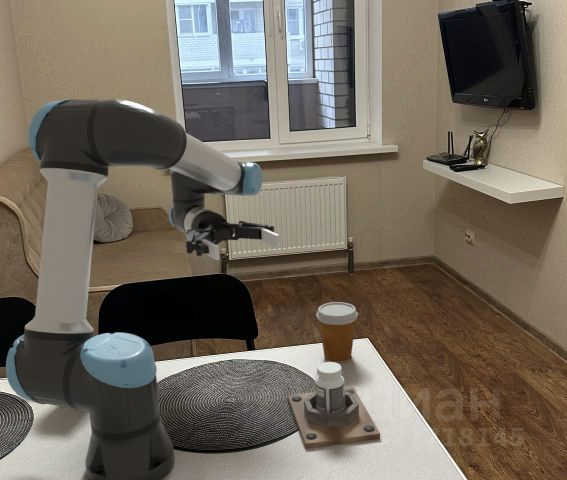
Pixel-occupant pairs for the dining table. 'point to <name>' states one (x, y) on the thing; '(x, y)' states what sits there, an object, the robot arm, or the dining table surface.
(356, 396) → the socket plate
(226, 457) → the dining table surface
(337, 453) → the dining table surface
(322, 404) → the pill bottle
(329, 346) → the disposable coffee cup
